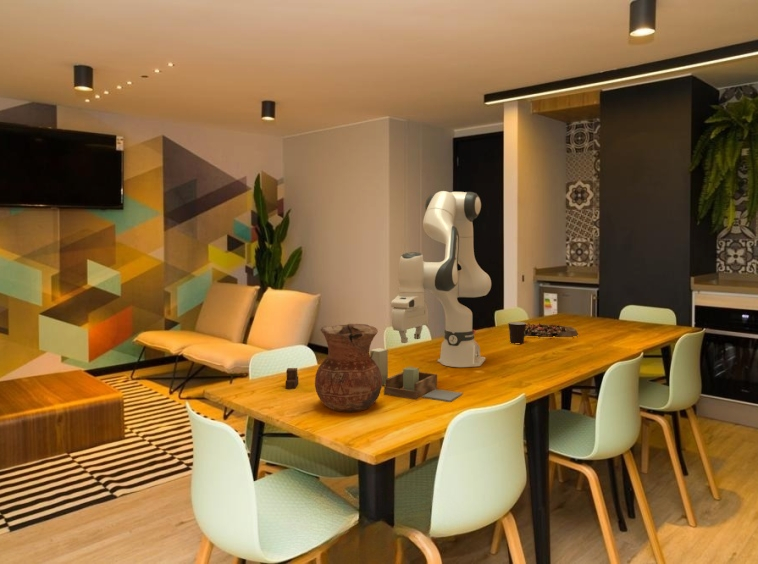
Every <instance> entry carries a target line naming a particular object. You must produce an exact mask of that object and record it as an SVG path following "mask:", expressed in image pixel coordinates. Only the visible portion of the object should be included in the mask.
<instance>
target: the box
mask: <svg viewBox="0 0 758 564" xmlns="http://www.w3.org/2000/svg"><path fill="white" fill-rule="evenodd" d="M388 353H389V351H388V349H386V348H380V347H378V348H373V349H370V350H369V355H370V357H371V358H372V359H373V360H374V361H375V363H376V364H377V366H378V367H379V370H380V372H381V376H382V387H383V386H386V379H387V378H389V374H388V373H389V371H388V370H389V367H388V366H389V364H388V363H389V362H388V361H389V357H388Z"/></svg>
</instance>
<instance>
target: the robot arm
mask: <svg viewBox="0 0 758 564" xmlns="http://www.w3.org/2000/svg"><path fill="white" fill-rule="evenodd" d="M424 207H425V213H424V216H423V220H422V227H423V231H424V233H425V234H426V235H427V236H428V237H429V238H431V239H432V240H434V241H436V242H439V243H442V244H443V245H444V246H445V251H444V259H443V260H442V261H437V262H436V261H435V262H434V261H433V262H431V261H424V255H423V254H422V253H420V252H417V251H416V252H414V251H413V252H405V253H403V254H402V255H400V257H399V264H398V271H397V272H398V276H397V278H398V282H399V285H398V286H399V287H398V291H397V295H396V297H394V299H392V300H391V302H390V306H391V308H392V309H391V328H392V329H393V331H397V332H398V333H399V336H400V343H401V344H407V343H408V342H409V339H408V338H409V337H407V333H408V331H407V330H411V329H415V333H413V338H414V339H415V340H419V339H421V334H422V331H423V326H426V325H428V323H429V310H428V304H427V303H426V301H425V290H427V291H428V290H429V292H430V293H431V294H432V296H434V297H435V298H437V300H438V301H439V302H440V303H441V305H442V308H443V311H444V318H445V319H444V320H445V323H444V324H445V328H444V332H443V335H444V336H443V338H444V340H443V341H442V342H441V344H440V345H441V348H440V358H438V359H437V363H440V364H441V365H443V366H446V367H452V368H471V367H472V368H473V367H476V368H478V367H481V366H482V364H483V363H484V362H485V361H486V360H487V359H486V357H485V356H481V346H480V345H479V344H478V342H477V341H476V340H475V335H476V329H473V312H472V310H471V309H470V308H468V307H467V306H465V305H463V304H462V303H460V302H459V300H458V298H480V297H483V296H487V295H488V294H489V292H490V291H491V288H492V280H491V277H490V275H489V274H488V273H487V272H485V271H484V270H483V269H482V268H481V266H480V265H479V264H478V262H477V260H476V257H475V252H474V251H475V249H474V225H473V221H474V220H475V219H477V218H478V216H479V214H480V212H481V208H482V202H481V198H480V196H479V195H478V194H477V192H473V191H465V192H464V191H452V192H451V191H450V192H449V191H446V190H441V191H437V192H436V193H433V194H430V195H429V196H428V197H427V198H426V200H425V206H424ZM458 266H460V268H461V269H460V270H458Z"/></svg>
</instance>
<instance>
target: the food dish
mask: <svg viewBox="0 0 758 564" xmlns="http://www.w3.org/2000/svg"><path fill="white" fill-rule="evenodd" d="M578 334H579V332H578V330H577V329H576V328H574V327H571V326H565V325H560V324H558V325H556V324H543V323H542V324H541V322H538V324H536V323H535V324H534V323H533V324H530V322H527V324H526V329H525V336H538V337H553V336H555V337H573V336H577V335H578Z"/></svg>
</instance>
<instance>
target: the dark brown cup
mask: <svg viewBox="0 0 758 564" xmlns="http://www.w3.org/2000/svg"><path fill="white" fill-rule="evenodd" d="M507 324H508V332H509V342H511V343H524V341H525V337H524V336H525V329H526V325H527V323H526V322H522V321H510V322H508V323H507ZM511 343H510V344H511Z"/></svg>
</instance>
